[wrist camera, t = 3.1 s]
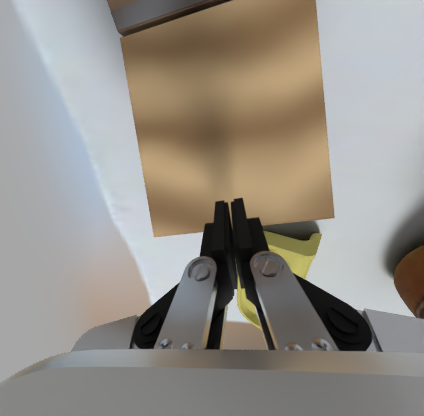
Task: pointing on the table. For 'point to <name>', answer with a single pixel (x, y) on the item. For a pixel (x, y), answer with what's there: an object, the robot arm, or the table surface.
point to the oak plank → (231, 114)
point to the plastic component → (296, 259)
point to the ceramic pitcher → (411, 281)
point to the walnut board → (153, 12)
